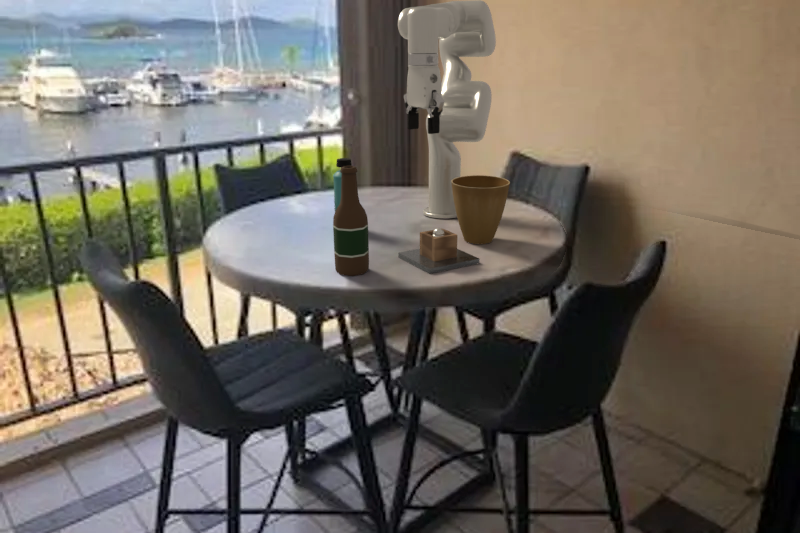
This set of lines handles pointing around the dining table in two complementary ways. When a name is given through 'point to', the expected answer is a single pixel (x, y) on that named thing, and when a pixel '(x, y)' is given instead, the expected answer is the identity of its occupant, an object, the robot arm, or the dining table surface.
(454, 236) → the walnut collar
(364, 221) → the beer bottle
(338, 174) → the beverage bottle
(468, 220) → the plant pot
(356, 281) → the dining table surface
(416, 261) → the post block
